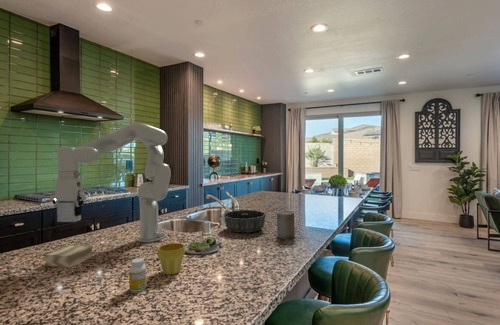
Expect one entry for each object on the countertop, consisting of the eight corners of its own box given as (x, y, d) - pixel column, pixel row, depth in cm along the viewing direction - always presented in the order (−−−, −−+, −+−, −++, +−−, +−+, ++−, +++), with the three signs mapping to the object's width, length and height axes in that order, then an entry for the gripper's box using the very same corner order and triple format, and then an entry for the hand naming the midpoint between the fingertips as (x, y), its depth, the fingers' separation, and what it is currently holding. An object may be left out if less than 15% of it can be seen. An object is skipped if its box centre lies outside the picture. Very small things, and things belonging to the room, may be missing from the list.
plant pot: (163, 266, 114) (162, 242, 114) (188, 266, 114) (187, 242, 114) (153, 276, 104) (153, 250, 104) (181, 276, 104) (180, 250, 104)
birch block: (92, 258, 126) (91, 247, 126) (69, 268, 114) (69, 256, 114) (69, 256, 128) (69, 245, 128) (45, 266, 117) (45, 254, 116)
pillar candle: (294, 234, 160) (293, 208, 160) (295, 239, 151) (294, 211, 151) (277, 234, 161) (276, 208, 161) (277, 239, 152) (276, 211, 152)
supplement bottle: (132, 285, 97) (132, 257, 97) (148, 284, 98) (147, 257, 98) (127, 292, 92) (126, 263, 92) (143, 291, 92) (143, 262, 92)
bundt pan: (251, 238, 154) (251, 220, 154) (214, 231, 168) (214, 215, 168) (273, 227, 177) (273, 212, 177) (239, 223, 191) (239, 208, 191)
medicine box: (81, 220, 123) (80, 200, 123) (73, 222, 118) (73, 202, 118) (64, 219, 124) (64, 200, 123) (56, 222, 119) (56, 202, 119)
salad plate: (220, 257, 125) (220, 247, 125) (180, 258, 125) (180, 248, 125) (222, 244, 145) (222, 235, 144) (188, 244, 144) (188, 236, 144)
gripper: (92, 174, 123) (93, 213, 124) (56, 174, 125) (57, 213, 125) (80, 175, 116) (81, 217, 116) (42, 175, 118) (43, 216, 118)
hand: (69, 215), depth 121 cm, fingers closed on medicine box, 8 cm apart
